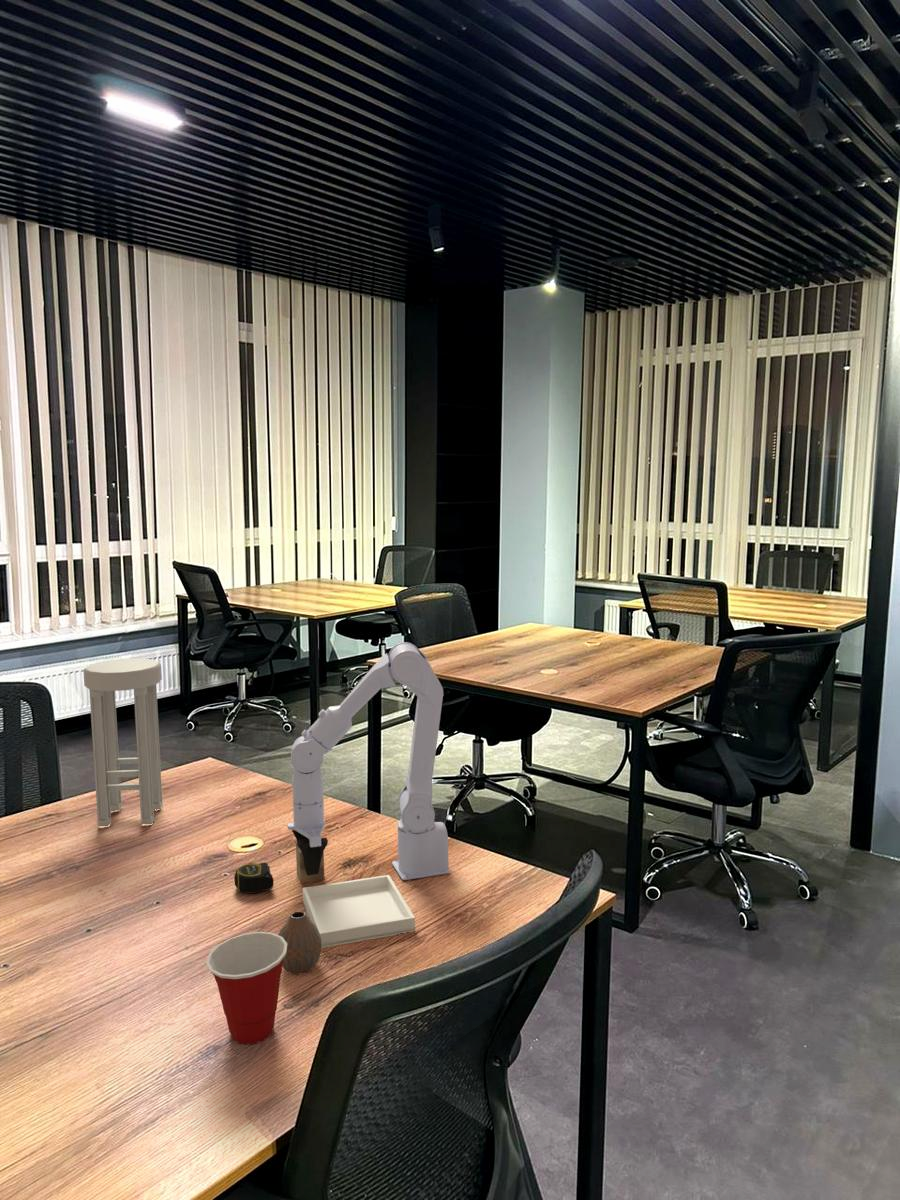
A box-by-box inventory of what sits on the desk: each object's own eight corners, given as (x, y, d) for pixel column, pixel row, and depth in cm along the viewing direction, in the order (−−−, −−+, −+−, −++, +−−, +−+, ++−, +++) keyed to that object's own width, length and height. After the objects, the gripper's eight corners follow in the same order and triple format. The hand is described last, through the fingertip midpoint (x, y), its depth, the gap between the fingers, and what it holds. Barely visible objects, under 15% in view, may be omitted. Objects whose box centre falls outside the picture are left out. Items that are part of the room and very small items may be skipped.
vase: (329, 959, 139) (328, 907, 138) (309, 983, 133) (307, 928, 132) (291, 952, 142) (289, 900, 140) (268, 975, 135) (266, 921, 134)
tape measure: (274, 894, 162) (273, 874, 161) (236, 899, 160) (235, 880, 159) (270, 878, 168) (269, 859, 168) (233, 883, 166) (232, 864, 166)
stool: (105, 806, 205) (96, 658, 200) (173, 803, 207) (166, 656, 202) (85, 832, 190) (75, 673, 185) (159, 829, 192) (151, 671, 187)
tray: (389, 887, 164) (388, 874, 163) (415, 931, 148) (414, 917, 147) (302, 901, 159) (302, 887, 158) (320, 948, 143) (319, 933, 142)
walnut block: (320, 869, 171) (319, 840, 171) (324, 879, 167) (323, 849, 166) (296, 873, 170) (295, 843, 169) (300, 883, 166) (299, 852, 165)
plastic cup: (207, 1016, 125) (203, 937, 123) (284, 1002, 128) (282, 924, 126) (211, 1065, 114) (207, 978, 113) (295, 1048, 118) (292, 964, 116)
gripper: (281, 789, 172) (283, 856, 174) (292, 816, 158) (295, 888, 160) (317, 785, 174) (319, 851, 176) (331, 811, 161) (333, 882, 162)
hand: (310, 868), depth 168 cm, fingers closed on walnut block, 4 cm apart
